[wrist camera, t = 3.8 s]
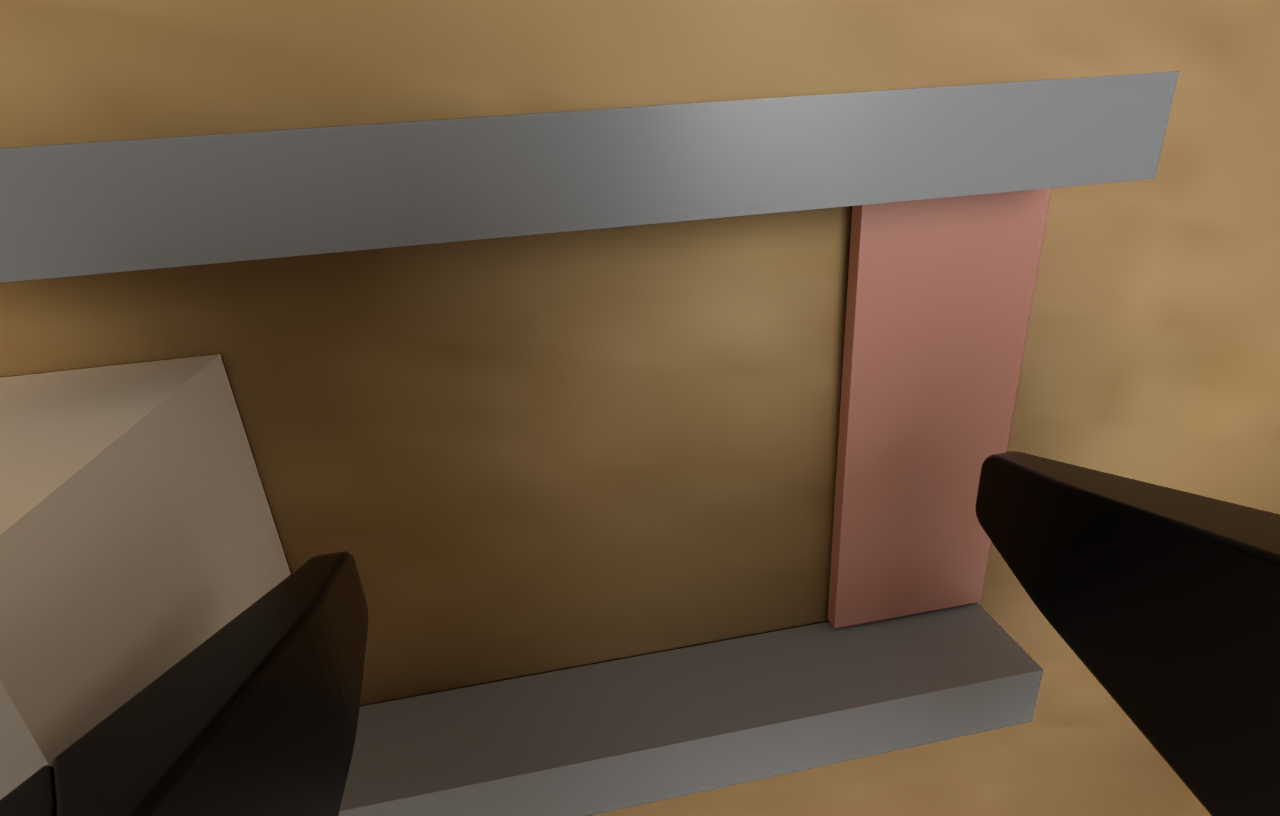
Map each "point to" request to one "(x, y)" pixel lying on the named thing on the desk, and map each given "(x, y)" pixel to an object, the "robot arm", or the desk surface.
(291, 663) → the robot arm
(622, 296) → the desk surface
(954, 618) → the u-shaped bracket
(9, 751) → the cream block
